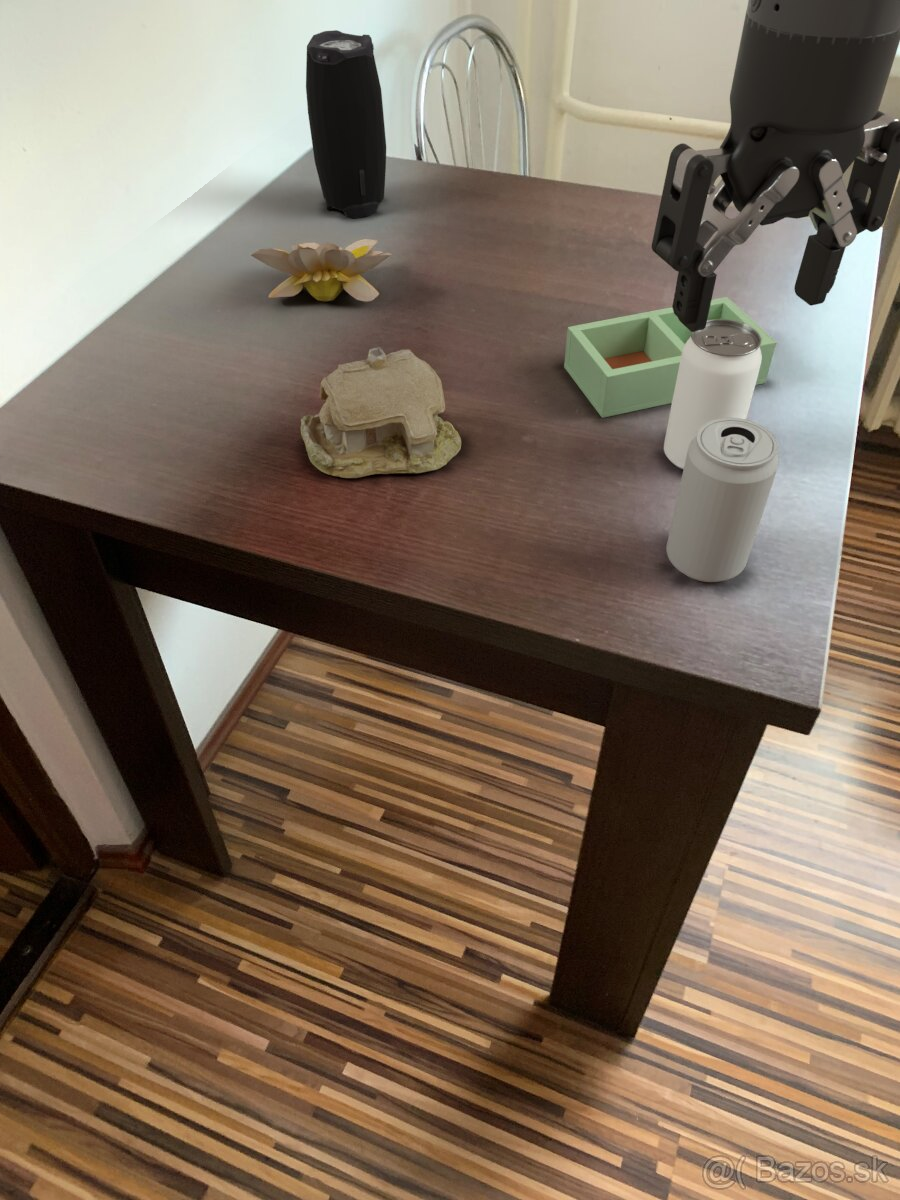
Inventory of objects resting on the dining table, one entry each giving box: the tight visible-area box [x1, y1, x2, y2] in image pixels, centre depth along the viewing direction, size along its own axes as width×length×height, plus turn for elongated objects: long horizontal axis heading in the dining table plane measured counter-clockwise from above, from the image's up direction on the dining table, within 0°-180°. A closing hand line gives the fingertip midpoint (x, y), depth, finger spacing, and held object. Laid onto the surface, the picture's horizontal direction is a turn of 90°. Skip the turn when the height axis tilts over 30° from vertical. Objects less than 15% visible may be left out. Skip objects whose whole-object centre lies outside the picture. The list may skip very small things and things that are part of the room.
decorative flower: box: [250, 238, 392, 303], centre depth 99 cm, size 15×11×10 cm
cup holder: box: [563, 296, 777, 419], centre depth 88 cm, size 9×18×5 cm, turn 108°
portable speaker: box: [305, 29, 387, 219], centre depth 111 cm, size 9×9×20 cm
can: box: [663, 319, 762, 470], centre depth 76 cm, size 6×6×12 cm
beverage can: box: [666, 418, 780, 583], centre depth 67 cm, size 6×6×12 cm
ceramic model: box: [300, 346, 462, 479], centre depth 79 cm, size 14×11×10 cm
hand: (750, 311), depth 55 cm, fingers open, 8 cm apart
